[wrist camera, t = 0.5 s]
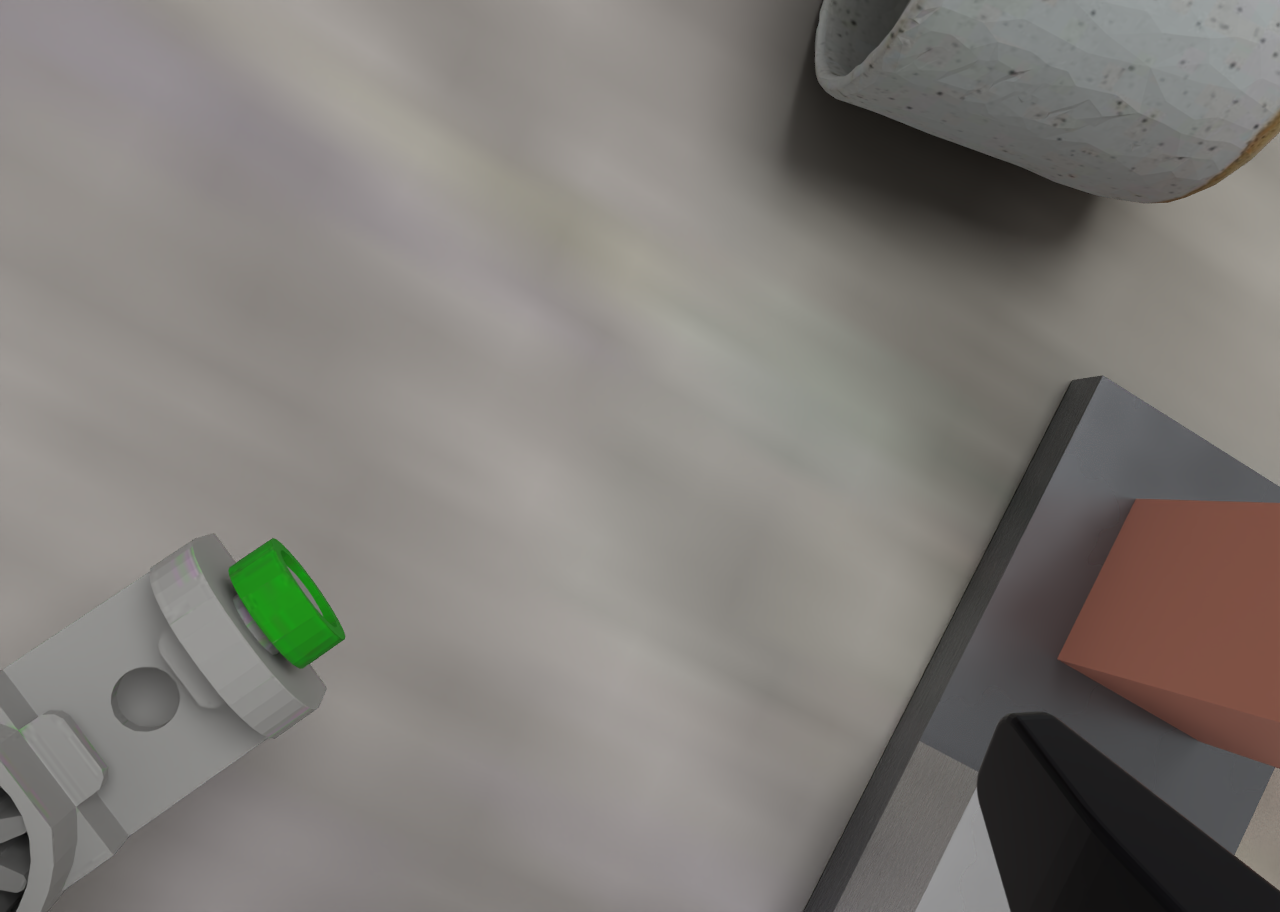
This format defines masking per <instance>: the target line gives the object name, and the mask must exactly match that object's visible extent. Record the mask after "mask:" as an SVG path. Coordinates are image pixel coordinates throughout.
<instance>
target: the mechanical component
mask: <svg viewBox="0 0 1280 912" xmlns="http://www.w3.org/2000/svg"><path fill="white" fill-rule="evenodd" d="M344 639H345V634H344V631H343V628H342V626H341V624H340V622H339V620H338V619H337V617H336V615H335V613H334V612H333V610H332V608H331V607H330V605H329V604H328V602H327V601H326V599H325V597H324V596H323V595H322V593H321V592H320V590H319V589H318V587H317V586H316V584H315V583H314V582H313V580H312V579H311V578H310V576H309V575H308V574H307V572H306V571H305V570H304V568H303V567H302V566H301V565H300V563H299V562H298V561H297V560H296V559H295V558H294V556H293V555H292V554H291V553H290V552H289V551H288V550H287V549H286V548H285V547H284V546H283V545H282V544H281V543H280V542H279V541H278V540H276V539H274V538H272V539H271V540H269V541H268V542H266V543H265V544H263V545H262V546H260V547H259V548H257V549H256V550H254V551H253V552H251V553H250V554H248V555H247V556H245V557H244V558H243V559H241V560H240V561H238V562H237V563H236V562H235V561H234V559H233V558H232V557H231V555H230V554H229V552H228V551H227V550H226V548H225V547H224V546H223V544H222V543H221V541H220V540H219V539H218V537H217V536H216V535H215V534H210V535H206V536H202V537H199V538H195V539H194V540H192V541H191V542H189V543H188V544H186V545H185V546H183V547H182V548H180V549H178V550H177V551H175V552H174V553H172V554H171V555H169V556H168V557H166V558H165V559H163V560H162V561H160V562H159V563H157V564H156V565H154V566H153V567H151V569H150V572H148V573H147V574H145V575H144V576H142V577H141V578H139V579H138V580H136V581H135V582H133V583H132V584H130V585H129V586H127V587H126V588H124V589H123V590H121V591H120V592H118V593H117V594H115V595H114V596H112V597H111V598H109V599H108V600H106V601H105V602H103V603H102V604H100V605H99V606H97V607H96V608H94V609H93V610H91V611H90V612H88V613H87V614H85V615H84V616H82V617H81V618H79V619H78V620H76V621H75V622H73V623H72V624H70V625H69V626H67V627H66V628H64V629H63V630H61V631H60V632H58V633H57V634H55V635H54V636H52V637H51V638H49V639H48V640H46V641H45V642H43V643H42V644H40V645H39V646H37V647H36V648H34V649H33V650H31V651H30V652H28V653H27V654H25V655H24V656H22V657H21V658H19V659H18V660H16V661H15V662H13V663H12V664H10V665H9V666H7V667H6V668H4V669H3V670H0V912H47V911H48V910H49V909H50V908H51V907H52V906H53V904H54V903H55V902H56V901H57V900H58V898H59V897H60V896H61V895H62V894H63V893H64V891H65V890H66V889H67V888H68V887H70V886H71V885H72V884H74V883H75V882H77V881H78V880H80V879H81V878H82V877H84V876H85V875H87V874H88V873H89V872H91V871H92V870H94V869H95V868H97V867H98V866H99V865H101V864H102V863H104V862H105V861H106V860H108V859H109V858H111V857H112V856H114V854H115V853H116V852H117V851H118V849H119V848H120V847H121V846H122V844H123V843H124V842H125V841H126V840H127V838H128V837H129V836H130V835H132V834H133V833H134V832H136V831H137V830H139V829H140V828H142V827H143V826H144V825H146V824H147V823H149V822H150V821H151V820H153V819H154V818H156V817H157V816H158V815H160V814H161V813H163V812H164V811H166V810H167V809H168V808H170V807H171V806H173V805H174V804H175V803H177V802H178V801H180V800H181V799H183V798H184V797H185V796H187V795H188V794H190V793H191V792H192V791H194V790H195V789H197V788H198V787H199V786H201V785H202V784H204V783H205V782H207V781H208V780H209V779H211V778H212V777H214V776H215V775H216V774H218V773H219V772H221V771H222V770H224V769H225V768H226V767H228V766H229V765H231V764H232V763H233V762H235V761H236V760H238V759H239V758H241V757H242V756H243V755H245V754H246V753H248V752H249V751H250V750H252V749H253V748H255V747H256V746H257V745H259V744H260V743H262V742H263V741H265V740H266V739H267V738H274V739H275V738H276V737H278V736H279V735H281V734H282V733H283V732H285V731H286V730H288V729H289V728H290V727H292V726H293V725H295V724H296V723H297V722H299V721H300V720H302V719H303V718H305V717H306V716H307V715H309V714H310V713H312V712H313V711H314V710H316V709H317V708H318V707H319V705H320V703H321V700H322V698H323V696H324V694H325V691H326V686H325V684H324V683H323V682H322V680H321V679H320V677H319V676H318V675H317V673H316V672H315V671H314V669H313V668H312V666H311V665H310V663H311V662H313V661H314V660H316V659H317V658H318V657H320V656H321V655H323V654H324V653H326V652H327V651H328V650H330V649H331V648H333V647H334V646H336V645H337V644H338V643H340V642H341V641H343V640H344Z"/></svg>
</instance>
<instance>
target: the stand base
mask: <svg viewBox="0 0 1280 912" xmlns="http://www.w3.org/2000/svg"><path fill="white" fill-rule="evenodd" d="M1136 499H1162V500H1196V501H1230V502H1264V503H1280V487H1279V486H1277V485H1276V484H1274V483H1273V482H1271V481H1269V480H1268V479H1266V478H1265V477H1263V476H1261V475H1260V474H1258V473H1257V472H1255V471H1254V470H1252V469H1250V468H1249V467H1247V466H1246V465H1244V464H1242V463H1241V462H1239V461H1238V460H1236V459H1235V458H1233V457H1231V456H1230V455H1228V454H1227V453H1225V452H1223V451H1222V450H1220V449H1219V448H1217V447H1216V446H1214V445H1212V444H1211V443H1209V442H1208V441H1206V440H1204V439H1203V438H1201V437H1200V436H1198V435H1196V434H1195V433H1193V432H1192V431H1190V430H1189V429H1187V428H1185V427H1184V426H1182V425H1181V424H1179V423H1177V422H1176V421H1174V420H1173V419H1171V418H1170V417H1168V416H1166V415H1165V414H1163V413H1162V412H1160V411H1158V410H1157V409H1155V408H1154V407H1152V406H1151V405H1149V404H1147V403H1146V402H1144V401H1143V400H1141V399H1139V398H1138V397H1136V396H1135V395H1133V394H1131V393H1130V392H1128V391H1127V390H1125V389H1124V388H1122V387H1120V386H1119V385H1117V384H1116V383H1114V382H1112V381H1111V380H1109V379H1108V378H1106V377H1105V376H1097V377H1090V378H1083V379H1077V380H1072V382H1071V384H1070V386H1069V388H1068V390H1067V392H1066V394H1065V396H1064V398H1063V400H1062V402H1061V404H1060V406H1059V408H1058V410H1057V412H1056V414H1055V416H1054V418H1053V420H1052V422H1051V424H1050V426H1049V428H1048V430H1047V432H1046V434H1045V436H1044V438H1043V440H1042V442H1041V444H1040V446H1039V448H1038V450H1037V452H1036V454H1035V456H1034V458H1033V460H1032V462H1031V464H1030V466H1029V467H1028V469H1027V471H1026V473H1025V475H1024V477H1023V479H1022V481H1021V483H1020V485H1019V487H1018V489H1017V491H1016V493H1015V495H1014V497H1013V499H1012V501H1011V503H1010V505H1009V507H1008V509H1007V511H1006V513H1005V515H1004V517H1003V519H1002V521H1001V523H1000V525H999V527H998V529H997V531H996V533H995V535H994V537H993V539H992V541H991V543H990V545H989V547H988V549H987V551H986V553H985V554H984V556H983V558H982V560H981V562H980V564H979V566H978V568H977V570H976V572H975V574H974V576H973V578H972V580H971V582H970V584H969V586H968V588H967V590H966V592H965V594H964V596H963V598H962V600H961V602H960V604H959V606H958V608H957V610H956V612H955V614H954V616H953V618H952V620H951V622H950V624H949V626H948V628H947V630H946V632H945V634H944V636H943V638H942V640H941V641H940V643H939V645H938V647H937V649H936V651H935V653H934V655H933V657H932V659H931V661H930V663H929V665H928V667H927V669H926V671H925V673H924V675H923V677H922V679H921V681H920V683H919V685H918V687H917V689H916V691H915V693H914V695H913V697H912V699H911V701H910V703H909V705H908V707H907V709H906V711H905V713H904V715H903V717H902V719H901V721H900V723H899V725H898V727H897V728H896V730H895V732H894V734H893V736H892V738H891V740H890V742H889V744H888V746H887V748H886V750H885V752H884V754H883V756H882V758H881V760H880V762H879V764H878V766H877V768H876V770H875V772H874V774H873V776H872V778H871V780H870V782H869V784H868V786H867V788H866V790H865V792H864V794H863V796H862V798H861V800H860V802H859V804H858V806H857V808H856V810H855V812H854V814H853V815H852V817H851V819H850V821H849V823H848V825H847V827H846V829H845V831H844V833H843V835H842V837H841V839H840V841H839V843H838V845H837V847H836V849H835V851H834V853H833V855H832V857H831V859H830V861H829V863H828V865H827V867H826V869H825V871H824V873H823V875H822V877H821V879H820V881H819V883H818V885H817V887H816V889H815V891H814V893H813V895H812V897H811V899H810V901H809V902H808V904H807V906H806V908H805V910H804V912H1010V909H1009V905H1008V902H1007V898H1006V895H1005V891H1004V888H1003V884H1002V881H1001V877H1000V874H999V870H998V867H997V864H996V860H995V857H994V853H993V850H992V846H991V843H990V839H989V836H988V832H987V829H986V826H985V822H984V819H983V815H982V812H981V808H980V805H979V801H978V796H977V776H978V772H979V769H980V766H981V764H982V761H983V759H984V756H985V754H986V751H987V749H988V746H989V743H990V741H991V738H992V736H993V733H994V731H995V728H996V726H997V724H998V722H999V720H1000V719H1001V718H1002V717H1003V716H1005V715H1006V714H1010V713H1022V712H1046V713H1049V714H1051V715H1053V716H1055V717H1056V718H1058V719H1059V720H1061V721H1062V722H1063V723H1064V724H1066V725H1067V726H1068V727H1070V728H1071V729H1072V730H1073V731H1075V732H1076V733H1077V734H1079V735H1080V736H1081V737H1082V738H1084V739H1085V740H1086V741H1088V742H1089V743H1090V744H1091V745H1093V746H1094V747H1095V748H1097V749H1098V750H1099V751H1100V752H1102V753H1103V754H1104V755H1106V756H1107V757H1108V758H1109V759H1111V760H1112V761H1113V762H1115V763H1116V764H1117V765H1118V766H1120V767H1121V768H1122V769H1124V770H1125V771H1126V772H1127V773H1129V774H1130V775H1131V776H1133V777H1134V778H1135V779H1136V780H1138V781H1139V782H1140V783H1142V784H1143V785H1144V786H1145V787H1147V788H1148V789H1149V790H1151V791H1152V792H1153V793H1154V794H1156V795H1157V796H1158V797H1160V798H1161V799H1162V800H1163V801H1165V802H1166V803H1167V804H1169V805H1170V806H1171V807H1172V808H1174V809H1175V810H1176V811H1178V812H1179V813H1180V814H1181V815H1183V816H1184V817H1185V818H1187V819H1188V820H1189V821H1190V822H1192V823H1193V824H1194V825H1196V826H1197V827H1198V828H1199V829H1201V830H1202V831H1203V832H1205V833H1206V834H1207V835H1208V836H1210V837H1211V838H1212V839H1214V840H1215V841H1216V842H1217V843H1219V844H1220V845H1221V846H1223V847H1224V848H1225V849H1226V850H1228V851H1229V852H1230V853H1232V854H1233V855H1235V853H1236V850H1237V848H1238V846H1239V844H1240V842H1241V840H1242V837H1243V835H1244V833H1245V831H1246V829H1247V827H1248V825H1249V822H1250V820H1251V818H1252V816H1253V814H1254V812H1255V809H1256V807H1257V805H1258V803H1259V801H1260V799H1261V796H1262V794H1263V792H1264V790H1265V788H1266V786H1267V784H1268V781H1269V779H1270V777H1271V775H1272V773H1273V771H1274V768H1275V767H1273V766H1270V765H1268V764H1265V763H1262V762H1259V761H1256V760H1253V759H1250V758H1247V757H1244V756H1241V755H1238V754H1235V753H1232V752H1229V751H1226V750H1223V749H1220V748H1217V747H1214V746H1211V745H1208V744H1205V743H1202V742H1200V741H1198V740H1196V739H1195V738H1193V737H1191V736H1189V735H1188V734H1186V733H1184V732H1182V731H1181V730H1179V729H1177V728H1175V727H1174V726H1172V725H1170V724H1169V723H1167V722H1165V721H1163V720H1162V719H1160V718H1158V717H1156V716H1155V715H1153V714H1151V713H1149V712H1148V711H1146V710H1144V709H1143V708H1141V707H1139V706H1137V705H1136V704H1134V703H1132V702H1130V701H1129V700H1127V699H1125V698H1124V697H1122V696H1120V695H1118V694H1117V693H1115V692H1113V691H1111V690H1110V689H1108V688H1106V687H1104V686H1103V685H1101V684H1099V683H1098V682H1096V681H1094V680H1092V679H1091V678H1089V677H1087V676H1085V675H1084V674H1082V673H1080V672H1078V671H1077V670H1075V669H1073V668H1072V667H1070V666H1068V665H1066V664H1065V663H1063V662H1061V661H1059V660H1058V659H1057V658H1058V656H1059V654H1060V652H1061V650H1062V648H1063V646H1064V644H1065V642H1066V640H1067V638H1068V636H1069V634H1070V632H1071V630H1072V628H1073V626H1074V624H1075V622H1076V619H1077V617H1078V615H1079V613H1080V611H1081V609H1082V607H1083V605H1084V603H1085V601H1086V599H1087V597H1088V595H1089V593H1090V591H1091V589H1092V587H1093V585H1094V583H1095V581H1096V579H1097V577H1098V575H1099V573H1100V571H1101V569H1102V567H1103V565H1104V563H1105V561H1106V559H1107V557H1108V555H1109V552H1110V550H1111V548H1112V546H1113V544H1114V542H1115V540H1116V538H1117V536H1118V534H1119V532H1120V530H1121V528H1122V526H1123V524H1124V522H1125V520H1126V518H1127V516H1128V514H1129V512H1130V510H1131V508H1132V506H1133V504H1134V502H1135V500H1136Z"/></svg>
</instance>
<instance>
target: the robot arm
mask: <svg viewBox="0 0 1280 912" xmlns="http://www.w3.org/2000/svg"><path fill="white" fill-rule="evenodd" d="M977 796H978V801H979V805H980V808H981V812H982V815H983V819H984V822H985V826H986V829H987V832H988V836H989V839H990V843H991V846H992V850H993V853H994V857H995V860H996V864H997V867H998V870H999V874H1000V877H1001V881H1002V884H1003V888H1004V891H1005V895H1006V898H1007V902H1008V905H1009V909H1010V912H1280V891H1279V890H1278V889H1277V888H1275V887H1274V886H1273V885H1271V884H1270V883H1269V882H1268V881H1266V880H1265V879H1264V878H1262V877H1261V876H1260V875H1259V874H1257V873H1256V872H1255V871H1253V870H1252V869H1251V868H1250V867H1248V866H1247V865H1246V864H1244V863H1243V862H1242V861H1241V860H1239V859H1238V858H1237V857H1235V856H1234V855H1233V854H1232V853H1230V852H1229V851H1228V850H1226V849H1225V848H1224V847H1223V846H1221V845H1220V844H1219V843H1217V842H1216V841H1215V840H1214V839H1212V838H1211V837H1210V836H1208V835H1207V834H1206V833H1205V832H1203V831H1202V830H1201V829H1199V828H1198V827H1197V826H1196V825H1194V824H1193V823H1192V822H1190V821H1189V820H1188V819H1187V818H1185V817H1184V816H1183V815H1181V814H1180V813H1179V812H1178V811H1176V810H1175V809H1174V808H1172V807H1171V806H1170V805H1169V804H1167V803H1166V802H1165V801H1163V800H1162V799H1161V798H1160V797H1158V796H1157V795H1156V794H1154V793H1153V792H1152V791H1151V790H1149V789H1148V788H1147V787H1145V786H1144V785H1143V784H1142V783H1140V782H1139V781H1138V780H1136V779H1135V778H1134V777H1133V776H1131V775H1130V774H1129V773H1127V772H1126V771H1125V770H1124V769H1122V768H1121V767H1120V766H1118V765H1117V764H1116V763H1115V762H1113V761H1112V760H1111V759H1109V758H1108V757H1107V756H1106V755H1104V754H1103V753H1102V752H1100V751H1099V750H1098V749H1097V748H1095V747H1094V746H1093V745H1091V744H1090V743H1089V742H1088V741H1086V740H1085V739H1084V738H1082V737H1081V736H1080V735H1079V734H1077V733H1076V732H1075V731H1073V730H1072V729H1071V728H1070V727H1068V726H1067V725H1066V724H1064V723H1063V722H1062V721H1061V720H1059V719H1058V718H1056V717H1055V716H1053V715H1051V714H1049V713H1046V712H1022V713H1010V714H1006V715H1005V716H1003V717H1002V718H1001V719H1000V720H999V722H998V724H997V726H996V728H995V731H994V733H993V736H992V738H991V741H990V743H989V746H988V749H987V751H986V754H985V756H984V759H983V761H982V764H981V766H980V769H979V772H978V776H977Z"/></svg>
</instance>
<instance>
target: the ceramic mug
mask: <svg viewBox="0 0 1280 912" xmlns="http://www.w3.org/2000/svg"><path fill="white" fill-rule="evenodd" d="M815 71H816V76H817V79H818V82H819V84H820V85H821V86H822V88H823V89H824V90H825V91H826V92H827V93H828V94H830V95H831V96H833V97H834V98H835V99H838V100H841V101H844V102H847V103H850V104H853V105H856V106H859V107H862V108H865V109H867V110H870V111H873V112H876V113H879V114H881V115H884V116H886V117H889V118H891V119H894V120H896V121H899V122H901V123H904V124H906V125H909V126H911V127H914V128H916V129H919V130H921V131H924V132H926V133H929V134H931V135H934V136H937V137H940V138H942V139H945V140H948V141H951V142H954V143H956V144H959V145H962V146H965V147H967V148H970V149H973V150H976V151H978V152H981V153H984V154H987V155H989V156H992V157H995V158H998V159H1001V160H1003V161H1006V162H1009V163H1012V164H1014V165H1017V166H1020V167H1022V168H1025V169H1027V170H1029V171H1031V172H1034V173H1036V174H1038V175H1040V176H1042V177H1045V178H1047V179H1049V180H1051V181H1054V182H1056V183H1059V184H1063V185H1066V186H1069V187H1072V188H1075V189H1078V190H1081V191H1084V192H1087V193H1090V194H1093V195H1096V196H1102V197H1108V198H1114V199H1119V200H1126V201H1133V202H1139V203H1168V202H1171V201H1175V200H1178V199H1182V198H1185V197H1188V196H1190V195H1192V194H1195V193H1197V192H1199V191H1202V190H1204V189H1206V188H1209V187H1211V186H1214V185H1216V184H1217V183H1218V182H1220V181H1221V180H1223V179H1224V178H1226V177H1227V176H1228V175H1230V174H1231V173H1233V172H1234V171H1236V170H1237V169H1239V168H1240V167H1241V166H1243V165H1244V164H1246V163H1247V162H1248V161H1250V160H1251V159H1252V158H1253V157H1254V156H1255V155H1257V154H1258V153H1259V152H1260V151H1261V150H1262V149H1263V148H1264V147H1265V146H1266V145H1267V144H1268V143H1269V142H1270V141H1271V140H1272V139H1273V138H1274V137H1275V136H1276V135H1277V134H1278V133H1279V132H1280V0H824V1H823V4H822V7H821V10H820V14H819V25H818V27H817V30H816V39H815Z"/></svg>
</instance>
